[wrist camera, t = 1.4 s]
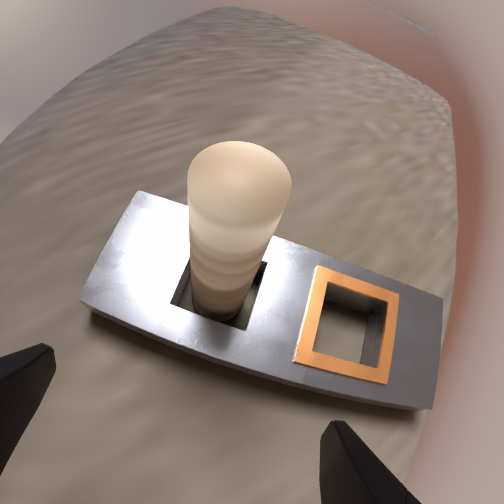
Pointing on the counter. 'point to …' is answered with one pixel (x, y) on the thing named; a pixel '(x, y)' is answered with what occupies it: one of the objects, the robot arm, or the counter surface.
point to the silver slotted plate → (271, 312)
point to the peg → (231, 221)
